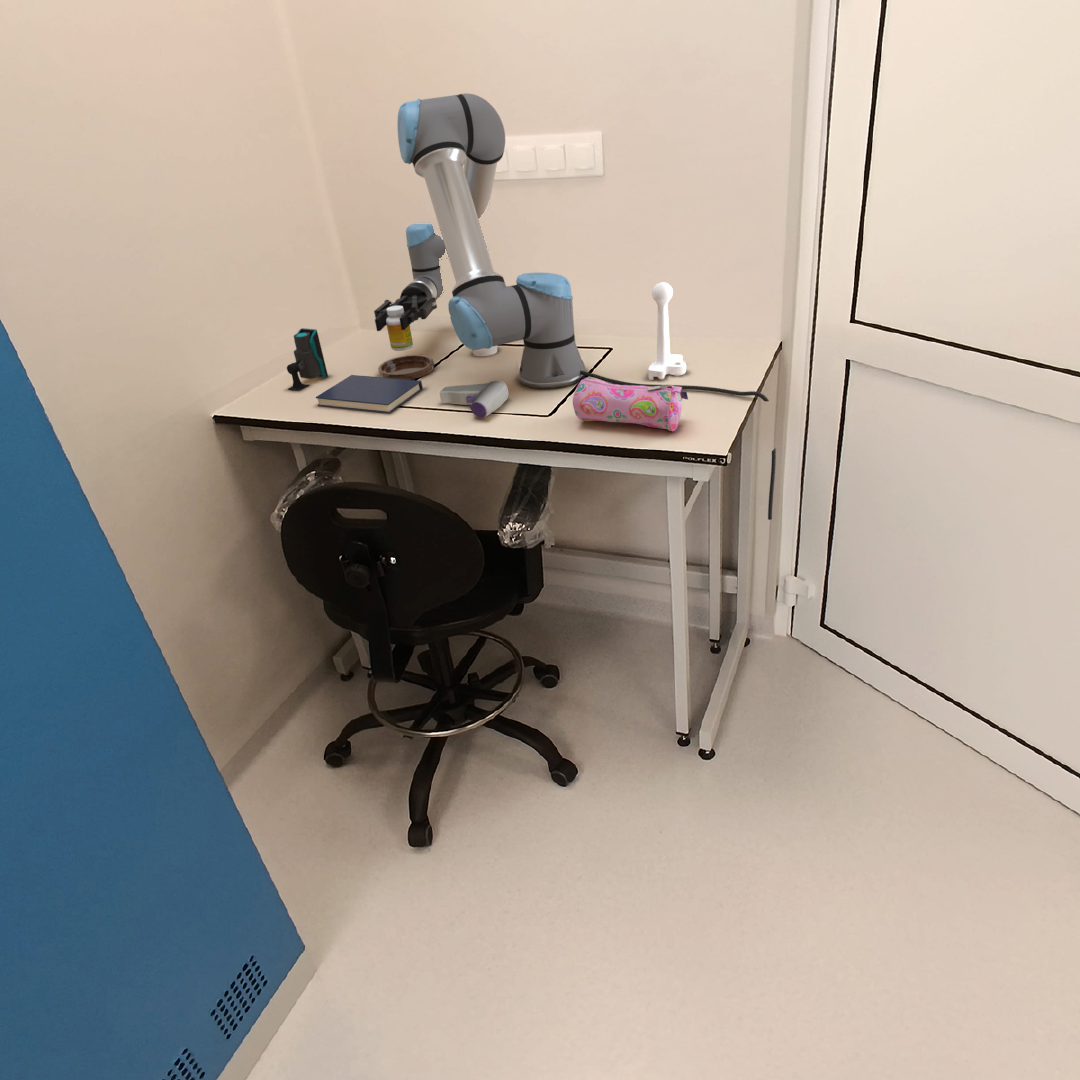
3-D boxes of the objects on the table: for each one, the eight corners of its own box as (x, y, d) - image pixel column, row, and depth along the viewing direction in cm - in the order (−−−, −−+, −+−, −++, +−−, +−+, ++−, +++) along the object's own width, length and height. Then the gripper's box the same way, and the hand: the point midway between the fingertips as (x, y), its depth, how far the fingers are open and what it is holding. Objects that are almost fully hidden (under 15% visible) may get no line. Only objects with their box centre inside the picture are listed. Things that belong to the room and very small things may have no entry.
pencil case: (688, 419, 159) (688, 376, 154) (674, 439, 152) (674, 394, 148) (589, 409, 168) (586, 368, 163) (571, 427, 161) (568, 385, 156)
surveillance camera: (271, 341, 190) (300, 328, 197) (285, 389, 196) (312, 374, 203) (289, 343, 187) (318, 329, 195) (302, 391, 194) (329, 376, 201)
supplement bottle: (411, 350, 193) (404, 310, 188) (389, 352, 193) (381, 312, 188) (415, 343, 198) (407, 303, 192) (393, 345, 198) (385, 305, 193)
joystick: (665, 362, 187) (664, 274, 177) (695, 365, 183) (696, 276, 173) (644, 379, 180) (641, 289, 169) (675, 383, 176) (674, 291, 165)
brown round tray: (445, 366, 199) (443, 359, 198) (405, 385, 191) (403, 377, 190) (408, 358, 207) (407, 351, 206) (368, 376, 198) (367, 369, 198)
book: (423, 389, 187) (421, 380, 186) (389, 413, 177) (388, 404, 176) (353, 383, 195) (351, 374, 194) (317, 406, 185) (315, 397, 184)
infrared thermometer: (450, 400, 182) (511, 398, 177) (427, 422, 173) (491, 421, 167) (446, 381, 180) (507, 378, 175) (422, 402, 170) (486, 400, 165)
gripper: (455, 309, 207) (430, 338, 188) (387, 312, 210) (356, 342, 191) (450, 279, 203) (424, 306, 184) (381, 283, 206) (349, 310, 187)
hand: (389, 324), depth 187 cm, fingers closed on supplement bottle, 5 cm apart
